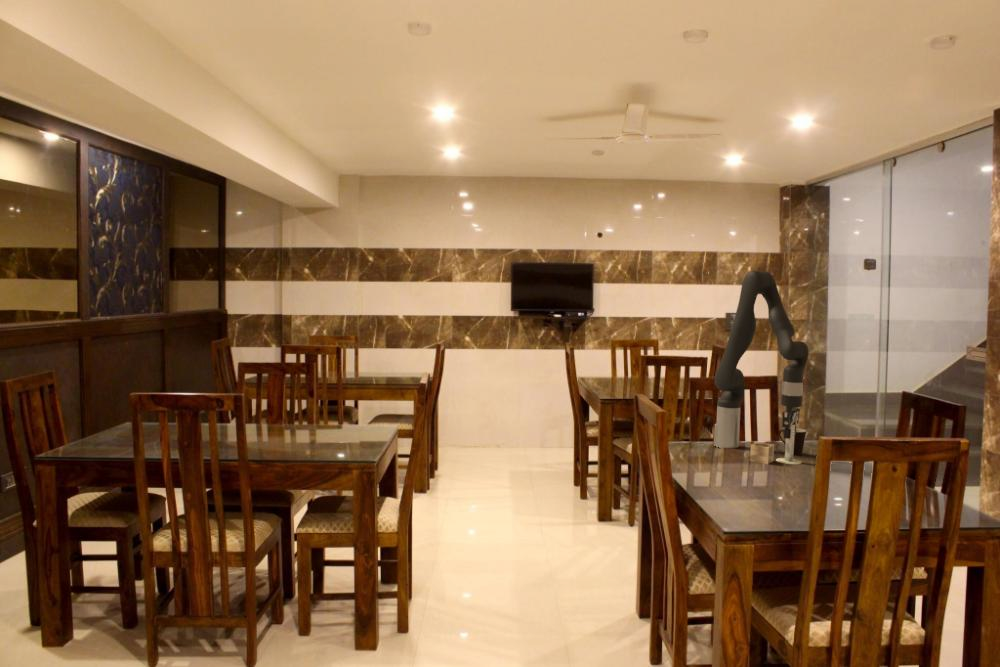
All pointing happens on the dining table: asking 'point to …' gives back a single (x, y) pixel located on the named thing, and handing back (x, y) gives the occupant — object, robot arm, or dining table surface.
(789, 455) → the rod
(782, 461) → the saucer
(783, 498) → the dining table surface
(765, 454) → the holder
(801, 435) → the coffee mug
